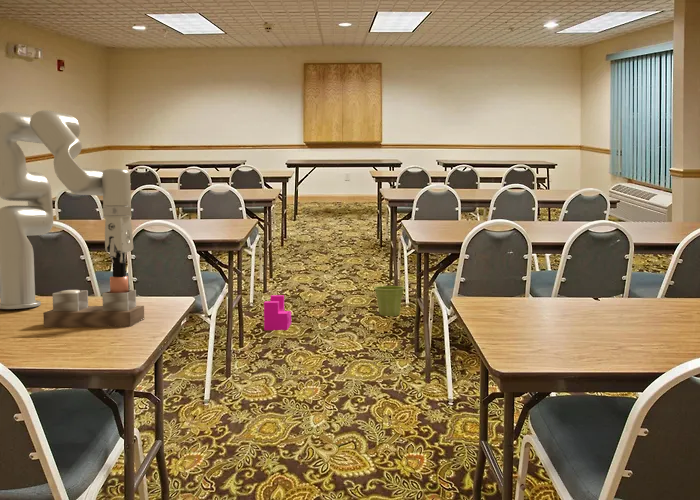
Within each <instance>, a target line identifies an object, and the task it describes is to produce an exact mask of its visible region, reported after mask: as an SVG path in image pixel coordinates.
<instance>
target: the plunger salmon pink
mask: <svg viewBox="0 0 700 500" xmlns="http://www.w3.org/2000/svg"><path fill="white" fill-rule="evenodd" d="M129 290H130V287H129V276H128V275H126V276H125V277H113V275H112V276H109V291H110V293H127V292H129Z"/></svg>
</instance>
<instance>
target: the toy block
mask: <svg viewBox="0 0 700 500" xmlns="http://www.w3.org/2000/svg"><path fill="white" fill-rule="evenodd" d="M269 299H270V301H268V300H265V301H264V302H263V325H264V327H263V328H264V329H263V330H264V331H288V329H289V328H290V327H291V325H292V310H285V294H283V295H281V294H276V295H275V294H272V295H270V298H269Z"/></svg>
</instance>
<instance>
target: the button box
mask: <svg viewBox="0 0 700 500" xmlns="http://www.w3.org/2000/svg"><path fill="white" fill-rule="evenodd" d="M79 290H80V289H79ZM61 291H62V290H61ZM61 291H57V292H53V293H52V309H50V310H47V311H45V312H43V327H45V328H72V327H73V328H75V327H76V328H82V327H83V328H92V327H95V328H97V327H101V328H102V327H103V328H104V327H109V328H111V327H115V328H116V327H117V328H119V327H132V326H134V325H136V324H138V323H139V321H140V320H141V319H143V318H144V319H145V305H137V290H136V289H129V292H127V293H110V290H108V291H105V292H103V293H102V295H101V296H102V305H89V290H87V289H86V290H85V289H84V290H83V289H82V290H80V292H78V293H61ZM144 319H143V320H144ZM140 322H141V321H140Z"/></svg>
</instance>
